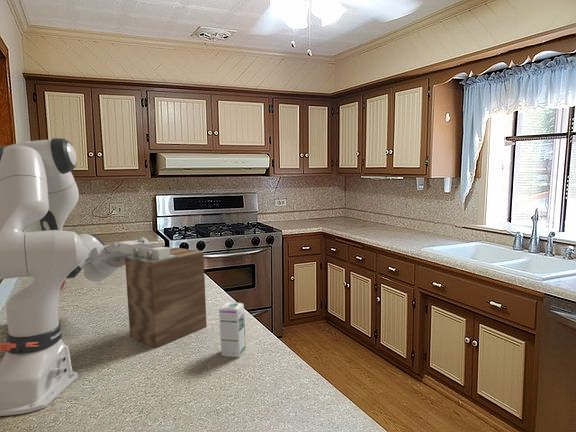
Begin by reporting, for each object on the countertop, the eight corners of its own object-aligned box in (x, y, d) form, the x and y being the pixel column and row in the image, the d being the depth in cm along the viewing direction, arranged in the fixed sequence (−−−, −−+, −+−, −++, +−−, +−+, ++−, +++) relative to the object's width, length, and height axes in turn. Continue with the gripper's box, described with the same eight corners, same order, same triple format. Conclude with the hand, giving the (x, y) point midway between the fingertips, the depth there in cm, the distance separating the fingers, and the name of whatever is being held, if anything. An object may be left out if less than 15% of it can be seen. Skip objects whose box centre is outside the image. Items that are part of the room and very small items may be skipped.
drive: (170, 257, 130) (169, 247, 130) (159, 259, 127) (158, 249, 127) (129, 249, 143) (129, 240, 143) (119, 251, 140) (118, 242, 140)
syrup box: (240, 358, 120) (238, 309, 118) (220, 356, 121) (218, 307, 119) (246, 349, 125) (244, 302, 123) (227, 347, 126) (225, 301, 125)
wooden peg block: (206, 326, 143) (203, 243, 139) (156, 348, 127) (151, 254, 123) (180, 318, 151) (176, 239, 147) (130, 337, 135) (124, 248, 132)
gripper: (79, 254, 140) (97, 237, 131) (134, 244, 156) (153, 228, 148) (85, 271, 138) (103, 255, 130) (140, 259, 154) (159, 245, 146)
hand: (130, 241), depth 139 cm, fingers open, 8 cm apart
